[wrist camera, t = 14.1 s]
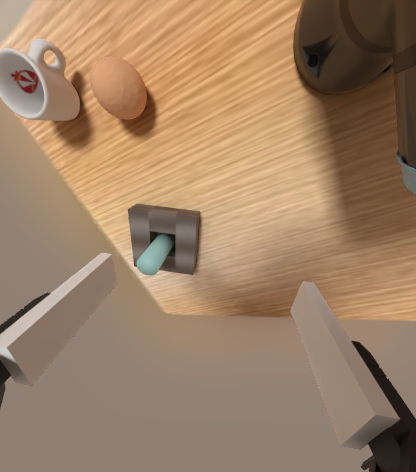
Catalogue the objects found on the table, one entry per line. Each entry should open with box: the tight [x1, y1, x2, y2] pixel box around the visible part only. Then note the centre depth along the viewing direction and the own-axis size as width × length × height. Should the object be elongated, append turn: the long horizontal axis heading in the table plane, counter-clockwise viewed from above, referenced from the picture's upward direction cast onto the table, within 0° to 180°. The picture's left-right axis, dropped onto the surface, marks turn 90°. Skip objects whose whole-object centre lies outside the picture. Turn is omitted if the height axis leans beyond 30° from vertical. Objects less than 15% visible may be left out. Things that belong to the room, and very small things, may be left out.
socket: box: [128, 204, 200, 275], centre depth 40 cm, size 14×14×4 cm
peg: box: [137, 233, 176, 275], centre depth 37 cm, size 4×4×12 cm
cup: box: [0, 38, 80, 121], centre depth 28 cm, size 11×8×8 cm
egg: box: [90, 56, 147, 120], centre depth 27 cm, size 7×7×8 cm
